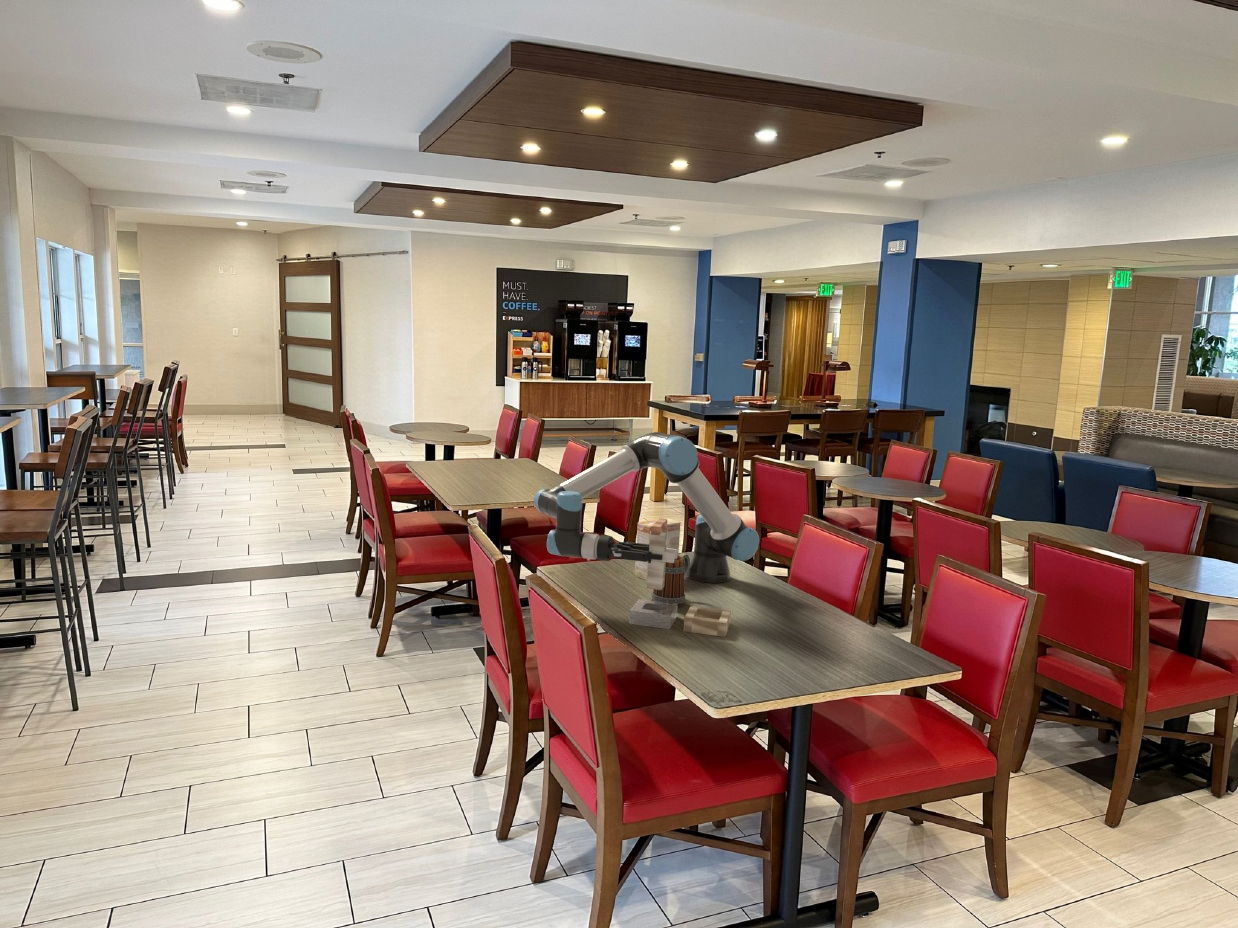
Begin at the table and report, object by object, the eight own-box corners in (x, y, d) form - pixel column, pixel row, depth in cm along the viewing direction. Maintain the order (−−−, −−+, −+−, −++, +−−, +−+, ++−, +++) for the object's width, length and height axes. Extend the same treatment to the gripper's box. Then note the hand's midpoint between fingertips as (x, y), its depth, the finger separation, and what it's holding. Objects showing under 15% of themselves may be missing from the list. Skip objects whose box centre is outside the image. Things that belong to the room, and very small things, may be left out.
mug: (672, 610, 257) (676, 563, 255) (644, 602, 264) (647, 556, 261) (699, 600, 270) (702, 555, 268) (672, 592, 276) (675, 548, 274)
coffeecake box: (664, 570, 304) (668, 518, 301) (677, 575, 298) (681, 522, 295) (633, 575, 294) (636, 521, 291) (646, 580, 289) (650, 525, 286)
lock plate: (638, 611, 254) (638, 598, 253) (676, 616, 251) (677, 604, 251) (629, 623, 242) (630, 610, 242) (669, 629, 240) (670, 615, 239)
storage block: (689, 618, 250) (690, 605, 250) (729, 623, 248) (730, 610, 247) (683, 631, 239) (684, 617, 238) (725, 636, 236) (726, 623, 235)
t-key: (652, 580, 252) (656, 518, 249) (666, 582, 251) (670, 519, 248) (644, 591, 240) (648, 526, 237) (659, 593, 239) (663, 527, 236)
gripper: (605, 552, 257) (679, 561, 252) (590, 566, 240) (669, 576, 235) (606, 529, 256) (681, 537, 251) (591, 541, 239) (671, 550, 234)
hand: (675, 556), depth 243 cm, fingers closed on t-key, 4 cm apart
